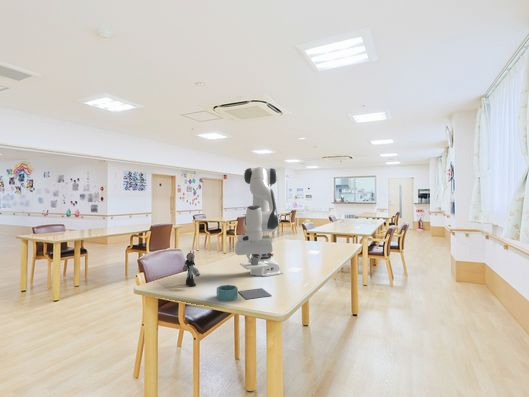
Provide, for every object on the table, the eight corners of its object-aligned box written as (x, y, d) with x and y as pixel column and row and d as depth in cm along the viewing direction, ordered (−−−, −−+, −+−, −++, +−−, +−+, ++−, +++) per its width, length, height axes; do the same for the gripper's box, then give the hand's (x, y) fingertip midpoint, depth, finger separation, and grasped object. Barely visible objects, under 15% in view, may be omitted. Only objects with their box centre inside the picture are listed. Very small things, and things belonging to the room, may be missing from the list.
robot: (180, 282, 185) (179, 249, 185) (187, 281, 188) (187, 248, 188) (194, 289, 170) (193, 254, 170) (202, 288, 173) (201, 253, 173)
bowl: (233, 293, 163) (233, 284, 163) (239, 299, 154) (239, 289, 154) (215, 295, 159) (215, 286, 159) (219, 301, 150) (219, 291, 150)
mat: (261, 288, 171) (261, 288, 171) (271, 296, 158) (271, 295, 158) (238, 291, 166) (238, 291, 166) (246, 299, 153) (246, 298, 153)
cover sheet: (260, 263, 170) (260, 254, 170) (269, 267, 159) (269, 258, 159) (240, 264, 165) (240, 256, 165) (247, 269, 154) (247, 260, 154)
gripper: (269, 234, 169) (269, 259, 169) (234, 236, 161) (234, 262, 161) (274, 235, 163) (274, 261, 163) (237, 238, 155) (237, 265, 155)
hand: (254, 262), depth 162 cm, fingers closed on cover sheet, 3 cm apart
